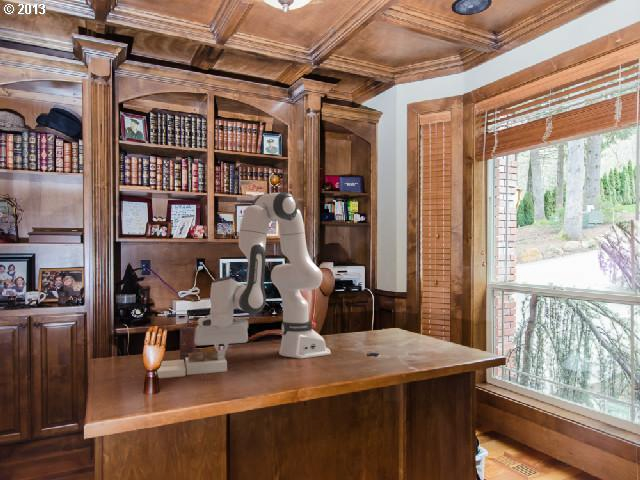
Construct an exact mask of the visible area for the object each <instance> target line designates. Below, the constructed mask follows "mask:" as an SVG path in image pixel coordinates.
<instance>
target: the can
mask: <svg viewBox="0 0 640 480" xmlns="http://www.w3.org/2000/svg"><path fill="white" fill-rule="evenodd" d="M195 330H196V326H195V325H183V326H181V327H180V329H179V360H184V364H185V358H187V357H189V353H197V352H196V351H197V348H196V347H197V345H196V344H195V343H194V336H195Z"/></svg>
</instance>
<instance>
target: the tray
mask: <svg viewBox="0 0 640 480" xmlns="http://www.w3.org/2000/svg"><path fill="white" fill-rule="evenodd" d="M157 374H158V377H159V379H167V378H178V377H179V378H180V377H181V378H182V377H186V368H185V363H184V360H180V359H175V360H162V363H161V366H160V368H159V369H158V370H157Z"/></svg>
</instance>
